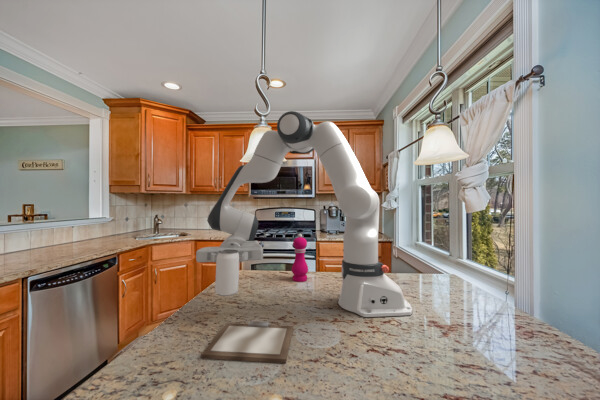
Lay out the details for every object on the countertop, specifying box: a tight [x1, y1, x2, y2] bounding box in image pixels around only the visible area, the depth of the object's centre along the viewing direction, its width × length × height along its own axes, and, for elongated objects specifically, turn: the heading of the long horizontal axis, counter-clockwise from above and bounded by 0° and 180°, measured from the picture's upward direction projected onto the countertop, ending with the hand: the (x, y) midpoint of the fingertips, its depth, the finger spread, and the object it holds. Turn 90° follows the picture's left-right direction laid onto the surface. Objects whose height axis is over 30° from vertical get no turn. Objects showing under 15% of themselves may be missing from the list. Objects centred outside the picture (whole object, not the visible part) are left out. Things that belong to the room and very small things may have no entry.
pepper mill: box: [291, 233, 309, 283], centre depth 108 cm, size 7×7×20 cm
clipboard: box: [200, 320, 294, 364], centre depth 59 cm, size 18×14×2 cm
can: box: [214, 249, 240, 297], centre depth 72 cm, size 6×6×12 cm
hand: (228, 259), depth 72 cm, fingers closed on can, 6 cm apart
